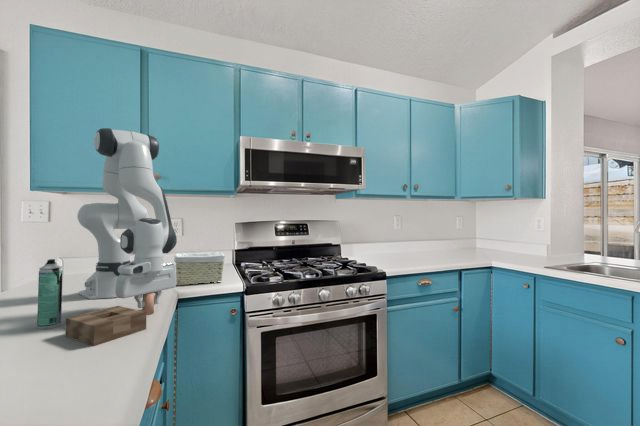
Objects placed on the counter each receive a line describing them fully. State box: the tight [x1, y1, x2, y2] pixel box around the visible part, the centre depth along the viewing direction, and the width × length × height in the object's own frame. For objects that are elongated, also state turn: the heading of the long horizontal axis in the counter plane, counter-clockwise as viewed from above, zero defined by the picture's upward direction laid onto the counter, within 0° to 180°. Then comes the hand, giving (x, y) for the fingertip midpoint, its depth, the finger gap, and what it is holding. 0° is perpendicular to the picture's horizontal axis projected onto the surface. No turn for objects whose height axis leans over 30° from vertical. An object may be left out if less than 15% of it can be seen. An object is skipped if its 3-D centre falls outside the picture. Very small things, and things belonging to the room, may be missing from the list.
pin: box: [141, 292, 155, 316], centre depth 108 cm, size 4×4×7 cm
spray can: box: [36, 258, 64, 330], centre depth 95 cm, size 6×6×20 cm
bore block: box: [65, 305, 147, 347], centre depth 89 cm, size 14×14×5 cm
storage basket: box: [174, 251, 226, 286], centre depth 162 cm, size 24×16×15 cm
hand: (148, 305), depth 107 cm, fingers closed on pin, 3 cm apart
